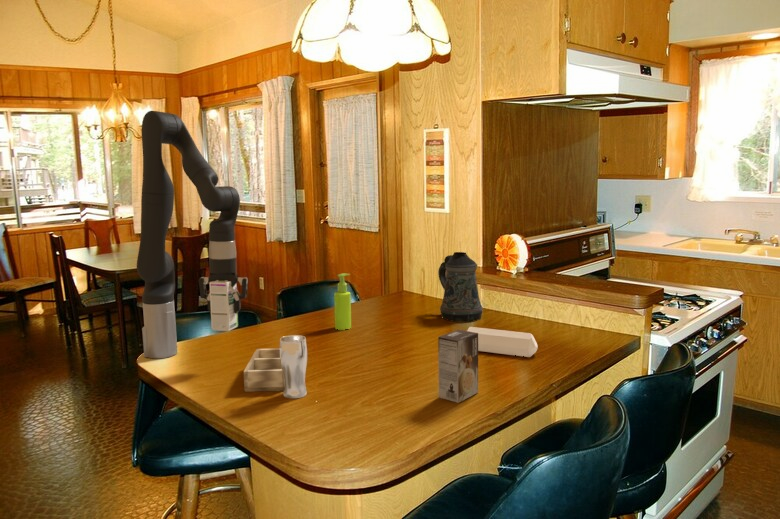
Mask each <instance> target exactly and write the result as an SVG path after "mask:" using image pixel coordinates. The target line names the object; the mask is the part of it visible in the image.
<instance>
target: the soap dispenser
mask: <svg viewBox="0 0 780 519" xmlns="http://www.w3.org/2000/svg"><path fill="white" fill-rule="evenodd" d="M346 276H351V273H343V272H342V273H339V274H337V277H338V278H339V282H338V283H337V291H335V292H334V294H333V295H334V328H335V330H337V329H338V331H346V330H345V329H349V330H351V329H352V304H351V303H352V302H351V300H352V299H351V296H352V295H351V294H352V293H351V292H350V291H348V283H347V282H346V281H345V277H346ZM350 328H351V329H350Z"/></svg>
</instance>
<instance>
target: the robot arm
mask: <svg viewBox="0 0 780 519" xmlns="http://www.w3.org/2000/svg"><path fill="white" fill-rule="evenodd" d="M141 123H142V124H141V145H142V186H141V201H140V202H141V204H140V206H141V209H140V212H141V213H140V240H139V247H138V252H137V260H136V270H137V274H138V276H139V277H140V279H142V280H143V281H144V289H143V292H142V295H141V296H142V297H141V298H142V300H141V301H142V311H143V325H144V326H143V327H142V328H141V331H142V343H143V346H142V347H143V357H144V358H149V359H163V358H164V359H165V358H170V357H173V356H176V355H177V354H178V343H177V342H178V341H177V338H178V337H177V324H176V311H175V298H174V297H175V290H176V281H175V278H176V277H175V276H176V275H175V262H174V259H173V257H172V256H171V254H170V253H168V251H166V238H167V233H168V229H169V227H170V225H171V224H170V223H171V220H172V217H173V211H174V205H175V202H174V201H175V186H174V183H173V180H172V179H171V176H170V175H169V173H168V171H167V169H166V167H165V164H164V160H163V154H162V153H163V152H162V149H163V144H165V145H172V146H173V147H174V148H175V149H177V151H178V152H179V153H180V154H181V155H180V156H181V166H182V170H183V171H184V173H185V175H186V176H187V178H189V180H190V182H191V183H192V184H193V186H195V188H196V191H197V194H198V197H199V199H200V202H201V204H202V205H203V207H204V208H205V209H206V210H208V211H210V212H213V213H214V212H217V213H218V212H220V213H219V216H218V218H216V219H214V220H212V221H210V223H209V228H208V229H209V230H208V233H209V234H208V235H209V244H208V245H209V246H208V259H209V260H208V261H209V263H208V264H209V276H207V277H205V276H201V277H199V278H198V287H199V295H200V298H201V299H204V300H206V301H207V302H206V304H207V311H208V312H209V313H210V314H211V306H210V292H209V293H207V285H208V282H212V281H227V282H229V281H231V284H230V289H231V294H232V295H233V297H234V298H235V301H234V308H235V313H238V314H239V312H240V310H241V307H242V305H241V300H244V299H246V298H247V296H248V286H249V278H248V277H247V276H244V277H239V276H238V273H237V272H238V271H237V268H238V266H237V254H238V252H237V248H236V247H237V246H236V245H237V244H236V234H235V233H236V230H235V227H236V222H237V218H238V214H239V210H240V205H241V197H240V194H239V192H238V190H237V189H236V188H235V187H233V186H229V185H227V186H225V185H223V186H220V185H219V186H217V185H218V183H219V176H218V174H217V172H216V171H215V170H214V169H213V167H212V166H211V165H210V164H209V162H208V161H207V160H206V159H205V157H204V156H203V155H202V153H201V152H200V149H199V148H198V146H197V144H196V142H195V141H194V139H193V137H192V135H191V134H190V132H189V130H188V128H187V125H185V123H184V122H183V120H182V119H181V117H180V116H179V115H177V114H175V113H171V112H164V111H160V110H159V111H157V110H149V111H147V112H146V113H145V114H144V116H143V118H142V122H141ZM237 283H239V285H240V286H241V290H240V291H241V292H239V290H238V287H237V288H236V287H235V290H234V289H233V287H234V286H235V284H236V285H237ZM240 293H241V294H240Z"/></svg>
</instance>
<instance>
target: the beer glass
mask: <svg viewBox="0 0 780 519" xmlns="http://www.w3.org/2000/svg"><path fill="white" fill-rule="evenodd" d="M307 346H308V345H307V338H306V336H304V335H300V334H291V335H285V336H281V337H280V339H279V348H280V362H281V368H282V372H283V377H284V391H282V396H283V397H284V398H286V399H291V400H292V399H293V400H294V399H295V400H296V399H302V398H304V397H306V396H307V394H308V393H307V387H306V386H307V385H306V381H305V380H306V372H307V371H306V370H307V364H308V347H307Z"/></svg>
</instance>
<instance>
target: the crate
mask: <svg viewBox="0 0 780 519" xmlns="http://www.w3.org/2000/svg"><path fill="white" fill-rule="evenodd" d="M243 385H244V386H243V387H244V392H245V393H247V392H248V393H249V392H279V391H282V392H283V391H284V377H283V372H282V368H281V362H280V347H279V348H256V350H255V351H254V353H253V354H252V356H251V358H250V360H249V361H248V363H247V365H246V367H245V369H244V370H243Z"/></svg>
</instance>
